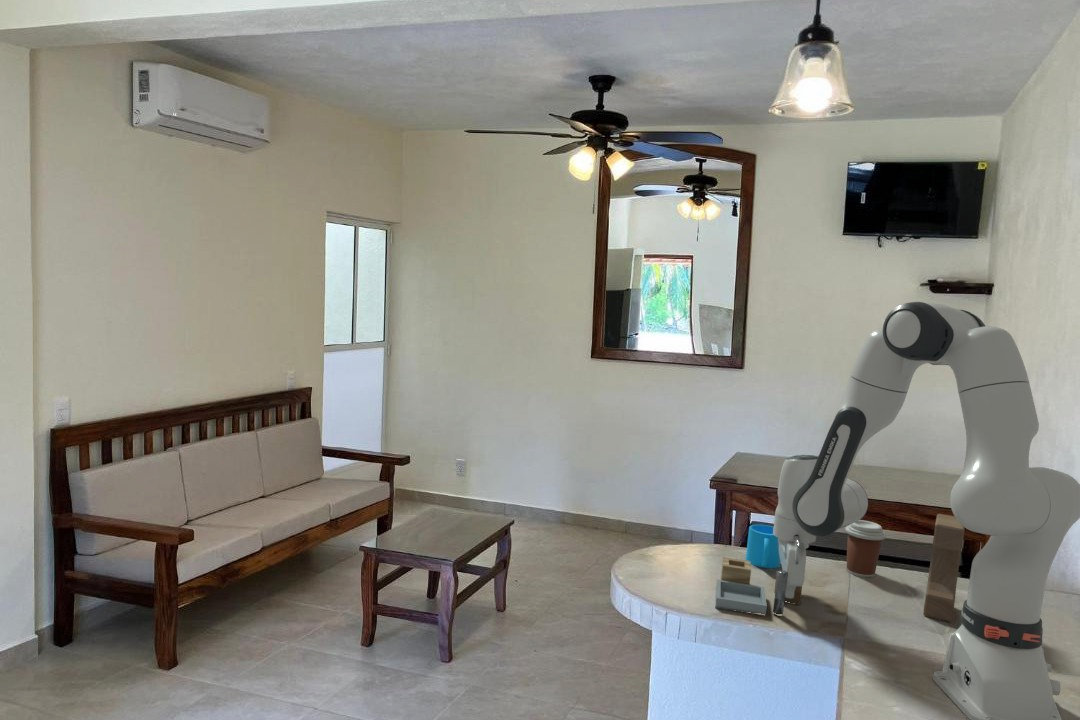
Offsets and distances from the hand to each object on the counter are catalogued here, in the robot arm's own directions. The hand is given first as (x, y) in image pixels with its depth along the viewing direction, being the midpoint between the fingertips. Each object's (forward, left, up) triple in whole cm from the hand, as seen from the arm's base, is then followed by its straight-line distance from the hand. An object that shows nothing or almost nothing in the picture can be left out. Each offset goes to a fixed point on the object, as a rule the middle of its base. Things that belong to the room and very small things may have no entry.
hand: (787, 591), depth 177 cm
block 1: (+4, +11, -2) cm, 12 cm away
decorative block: (+7, -32, -2) cm, 33 cm away
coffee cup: (+26, -19, -2) cm, 32 cm away
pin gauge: (-10, +3, -2) cm, 10 cm away
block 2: (0, 0, -2) cm, 2 cm away
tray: (-6, +10, -2) cm, 12 cm away
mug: (+21, +4, -2) cm, 21 cm away
